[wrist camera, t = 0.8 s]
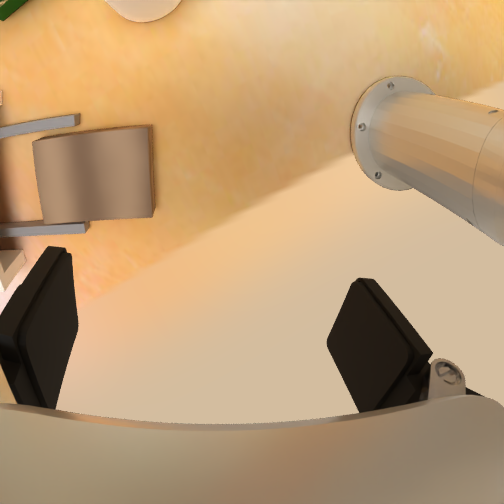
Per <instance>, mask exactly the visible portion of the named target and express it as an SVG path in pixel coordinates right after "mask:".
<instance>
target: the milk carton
mask: <svg viewBox="0 0 504 504" xmlns="http://www.w3.org/2000/svg"><path fill="white" fill-rule="evenodd" d="M26 1H28V0H0V20H1V21H4V20H5V19H6V18H7V17H9V16H10V15H11V14H12V13H13V12H14V11H15V10H17V9H18V8H19V7H20V6H21V5H23V4H24V3H25V2H26Z"/></svg>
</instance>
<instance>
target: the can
mask: <svg viewBox="0 0 504 504" xmlns="http://www.w3.org/2000/svg"><path fill="white" fill-rule="evenodd" d="M104 1H105V2H107V3H108V4H109V5H110V6H111V7H112V8H113V9H114V10H115V11H116V12H117V13H119V14H120V15H121V16H122V17H124V18H126V19H128V20H131V21H134V22H150V21H154V20H157V19H160V18H162V17H164V16H166V15H167V14H169V13H170V12H171V11H173V10H174V9H175V8H176V7H177V5H178V4H179V3H180V1H181V0H104Z"/></svg>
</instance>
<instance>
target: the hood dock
mask: <svg viewBox="0 0 504 504" xmlns="http://www.w3.org/2000/svg"><path fill="white" fill-rule="evenodd" d="M0 105H2V91H0ZM79 124H80V114H72V115H65V116H58V117H52V118H46V119H40V120H34V121H29V122H24V123H19V124H14V125H9V126H5V127H0V138H5V137H10V136H15V135H20V134H25V133H31V132H37V131H43V130H49V129H56V128H63V127H71V126H76V125H79ZM88 228H89V221H82V222H68V223H54V224H44V220H41V221H26V222H13V223H0V237H18V236H37V235H57V234H80V233H86V232H87V230H88ZM25 262H26V259H25V255H24V251H23V250H0V291H5V290H6V289H7V287H8V286H9V284H10V283H11V281H12V280H13V279H14V277H15V276H16V274H17V273H18V272H19V270H20V269H21V268H22V266H23V265H24V263H25Z"/></svg>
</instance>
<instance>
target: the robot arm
mask: <svg viewBox="0 0 504 504" xmlns="http://www.w3.org/2000/svg"><path fill="white" fill-rule="evenodd" d="M387 85H388V87H387ZM359 124H360V127H359V128H358V126H359ZM351 143H352V149H353V152H354V155H355V158H356V161H357V162H358V164H359V166H360V168H361V169H362V171H363V172H364V173H365V174H366V175H367V176H368V177H369V178H370V179H371V180H373V181H374V182H375V183H377V184H379V185H380V186H382V187H384V188H387V189H390V190H398V191H401V190H409V189H411V188H414V189H416V190H418V191H419V192H421V193H423V194H424V195H426V196H428V197H429V198H431V199H433V200H434V201H436V202H438V203H439V204H441V205H442V206H444V207H446V208H447V209H449V210H450V211H452V212H453V213H455V214H456V215H458V216H459V217H461V218H462V219H464V220H465V221H467V222H468V223H470V224H471V225H473V226H474V227H476V228H477V229H479V230H480V231H482V232H483V233H485V234H486V235H487V236H489V237H490V238H491V239H493V240H494V241H496V242H497V243H499V244H501V245H502V246H504V110H502V109H498V108H494V107H490V106H486V105H481V104H477V103H473V102H468V101H463V100H458V99H453V98H448V97H442V96H436V95H435V93H434V92H433V91H432V90H431V89H430V88H429V87H428V86H426V85H425V84H424V83H422V82H421V81H418V80H416V79H414V78H410V77H405V76H393V77H387V78H384V79H382V80H380V81H377V82H376V83H375V84H373V85H372V86H371V87H369V88H368V89H367V90H366V92H365V93H364V94H363V95H362V97H361V98H360V100H359V102H358V104H357V105H356V108H355V111H354V114H353V117H352V123H351ZM375 173H376V174H375ZM77 332H78V315H77V307H76V299H75V289H74V279H73V266H72V255H71V253H67V251H66V249H65V248H62V247H54V246H48V247H47V248H46V249H45V251H44V252H43V254H42V255H41V256H40V258H39V259H38V261H37V262H36V264H35V265H34V266H33V268H32V269H31V271H30V272H29V274H28V275H27V277H26V278H25V280H24V281H23V283H22V284H21V285H19V286H18V287H17V289H16V290H15V292H14V294H13V295H12V297H11V298H10V300H9V302H8V303H7V305H6V306H5V308H4V310H3V311H2V313H1V315H0V504H504V407H503V406H502V405H501V404H500V403H498V402H497V401H495V400H493V399H490V398H487V397H484V396H482V395H480V394H478V393H476V392H474V391H472V390H470V389H468V388H466V387H465V377H464V374H463V373H462V371H461V370H460V369H459V368H458V366H456V365H455V364H454V363H452V362H451V361H448V360H446V359H441V358H438V359H435V360H434V361H433V362H432V363H431V364H429V363H428V360H429V358H430V357H431V356H432V354H433V352H432V351H431V350H430V348H429V347H428V346H427V344H426V343H425V342H424V340H423V339H422V338H421V337H420V336H419V334H418V333H417V332H416V330H415V329H414V328H413V326H412V325H411V324H410V323H409V321H408V320H407V319H406V318H405V316H404V315H403V314H402V313H401V311H400V310H399V309H398V308H397V306H396V305H395V304H394V303H393V301H392V300H391V299H390V298H389V297H388V295H387V294H386V293H385V292H384V290H383V289H382V288H381V287H380V286H379V285H378V283H377V282H376V281H375V280H374V279H368V278H358V279H357V280H356V281H355V282H353V283H352V284H351V286H350V289H349V291H348V293H347V295H346V298H345V300H344V302H343V305H342V307H341V309H340V312H339V314H338V316H337V318H336V321H335V323H334V325H333V327H332V329H331V332H330V334H329V336H328V338H327V347H328V349H329V352H330V353H331V356H332V358H333V359H334V362H335V364H336V366H337V368H338V370H339V372H340V374H341V376H342V378H343V380H344V382H345V384H346V386H347V388H348V390H349V392H350V394H351V396H352V399H353V401H354V403H355V405H356V407H357V409H358V411H359V413H357V414H350V415H343V416H335V417H328V418H319V419H310V420H300V421H289V422H273V423H253V424H182V423H180V424H179V423H162V422H147V421H135V420H127V419H117V418H109V417H100V416H92V415H85V414H79V413H73V412H67V411H61V410H55V409H56V404H57V400H58V397H59V393H60V389H61V385H62V381H63V378H64V374H65V371H66V367H67V364H68V360H69V357H70V354H71V350H72V347H73V344H74V341H75V338H76V335H77Z"/></svg>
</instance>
